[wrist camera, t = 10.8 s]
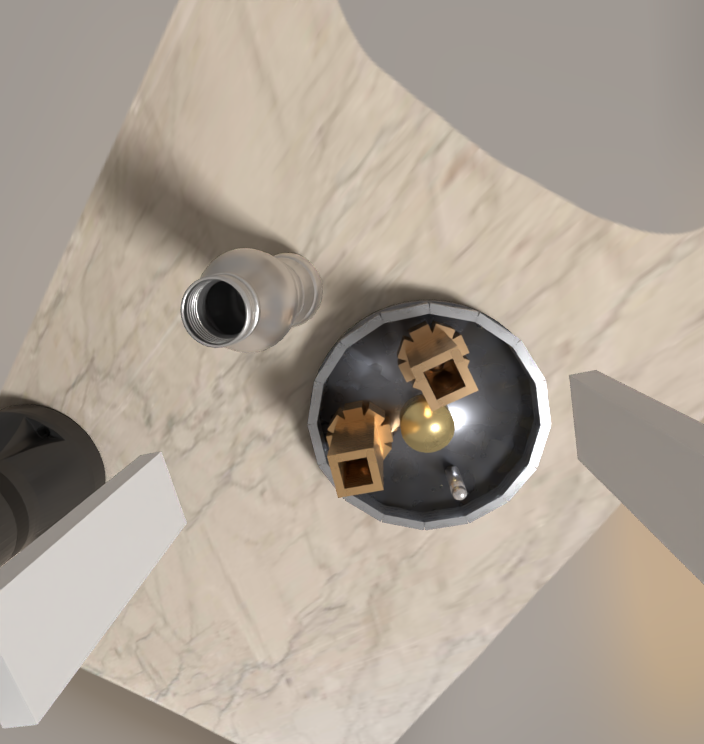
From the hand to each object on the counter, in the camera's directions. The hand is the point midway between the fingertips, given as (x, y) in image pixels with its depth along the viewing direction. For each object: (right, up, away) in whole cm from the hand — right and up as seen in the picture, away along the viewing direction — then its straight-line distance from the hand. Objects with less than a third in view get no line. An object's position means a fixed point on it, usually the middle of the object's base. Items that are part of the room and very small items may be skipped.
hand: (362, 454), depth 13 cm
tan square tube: (+7, +4, +27) cm, 28 cm away
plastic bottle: (-6, +11, +28) cm, 30 cm away
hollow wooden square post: (0, -3, +29) cm, 29 cm away
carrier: (+7, -2, +30) cm, 31 cm away
